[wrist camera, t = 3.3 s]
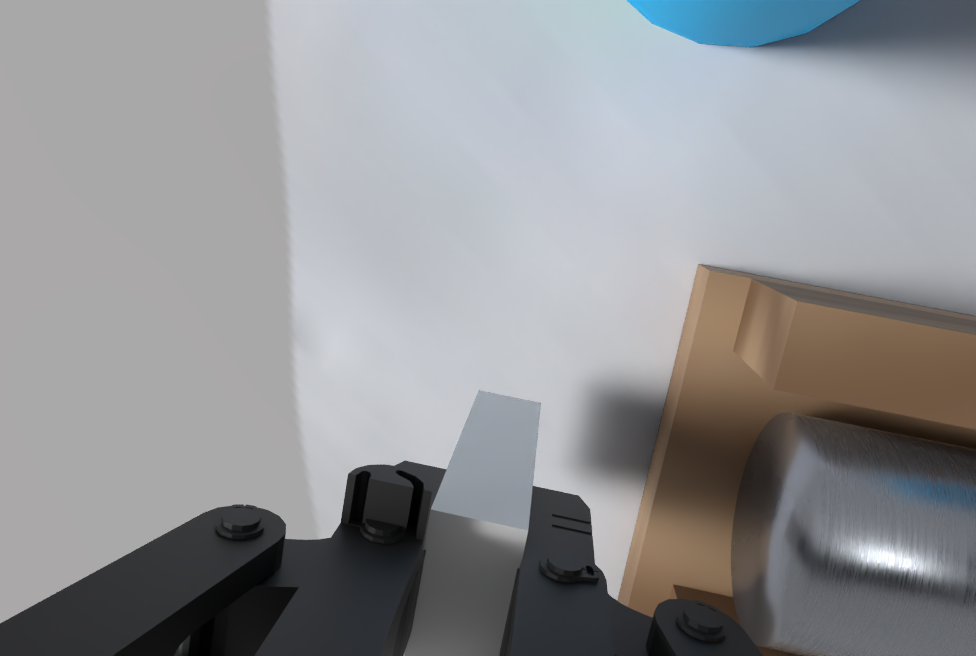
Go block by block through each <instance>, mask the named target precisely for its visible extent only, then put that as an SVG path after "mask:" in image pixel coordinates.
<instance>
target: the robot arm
mask: <svg viewBox="0 0 976 656" xmlns="http://www.w3.org/2000/svg"><path fill="white" fill-rule="evenodd" d="M540 406H541V403H538V402H533V401H528V400H523V399H518V398H514V397H509V396H504V395H499V394H494V393H489V392H484V391H480V390H479V391H478V394H477V396H476V399H475V401H474V404H473V406H472V409H471V411H470V414H469V416H468V419H467V421H466V423H465V426H464V428H463V431H462V433H461V436H460V438H459V441H458V443H457V446H456V448H455V451H454V453H453V456H452V458H451V460H450V463H449V465H448V468H447V470H446V469H441V468H437V467H432V466H427V465H423V464H418V463H413V462H408V461H404V462H401V463H399V464H397V465H395V466H391V465H367V466H363V467H359V468H356V469H354V470H353V471H352V472H350V473H349V474H348V479H347V486H346V492H345V499H344V505H343V512H342V518H341V523H340V525H339V526H338V528H337V529H336V531H335V532H334V534H333V536H332V537H331V538H326V539H320V540H293V539H285V533H286V524H285V523H284V521H283V520H282V519H281V518H280V517H279V516H278V515H276V514H274V513H272V512H270V511H268V510H265V509H261V508H257V507H255V506H251V505H246V506H243V505H232V506H228V507H220V508H216V509H213V510H210V511H208V512H205V513H203V514H201V515H199V516H197V517H195V518H193V519H192V520H190V521H188V522H186V523H185V524H183V525H181V526H179V527H177V528H175V529H173V530H171V531H170V532H168V533H166V534H164V535H162V536H161V537H159V538H157V539H155V540H153V541H151V542H149V543H147V544H146V545H144V546H142V547H140V548H138V549H136V550H135V551H133V552H131V553H129V554H127V555H126V556H124V557H122V558H120V559H118V560H116V561H114V562H113V563H111V564H109V565H107V566H105V567H103V568H101V569H100V570H98V571H96V572H94V573H93V574H90V575H89V576H87V577H85V578H83V579H81V580H79V581H78V582H76V583H74V584H72V585H70V586H69V587H67V588H65V589H63V590H61V591H59V592H57V593H56V594H54V595H52V596H50V597H48V598H46V599H45V600H43V601H41V602H39V603H37V604H35V605H34V606H32V607H30V608H28V609H26V610H24V611H22V612H21V613H19V614H17V615H15V616H13V617H11V618H10V619H8V620H6V621H4V622H2V623H1V624H0V656H403V655H404V652H405V655H404V656H763V655H762V653H761V652H760V651H759V649H758V648H757V647H756V645H755V644H754V643H753V641H752V640H751V639H750V637H749V636H748V635H747V633H746V632H745V631H744V629H743V628H742V627H741V626H740V625H739V624H738V623H737V622H736V621H735V620H733V619H732V618H731V617H729V616H728V615H726V614H724V613H723V612H721V611H720V610H719V609H718V608H716V607H714V606H712V605H709V604H708V605H706V603H704V602H701V601H697V600H695V601H692V600H687V599H668V600H665V601H663V602H661V603H659V604H658V605H657V607H656V609H655V611H654V615H653V618H652V617H650V616H647V615H645V614H642V613H640V612H638V611H635V610H633V609H631V608H629V607H627V606H625V605H623V604H621V603H620V602H618V601H617V600H615V599H614V598H612V597H611V596H610V595H609V594H608V592H607V583H606V579H605V576H604V574H603V572H602V570H600V569H599V568H598V567H597V566H596V565H595V561H594V549H593V538H592V526H591V514H590V509H589V507H588V506H587V505H586V504H585V503H584V501H583V500H582V499H581V498H580V497H579V496H577V495H573V494H568V493H563V492H559V491H554V490H549V489H545V488H540V487H535V486H533V478H534V467H535V457H536V447H537V437H538V427H539V416H540Z"/></svg>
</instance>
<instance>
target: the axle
mask: <svg viewBox="0 0 976 656" xmlns="http://www.w3.org/2000/svg"><path fill="white" fill-rule="evenodd" d="M731 582H732V591H733V598H734V604H735V609H736V613H737V617H738V619H739V622H740V625H741V627H742V628H743V629H744V631H745V632H746V633H747V635H748V636H749V637H750V639H751V640H752V641H753V643H754V644H756V645H758V646H761V647H766V648H771V649H775V650H780V651H784V652H789V653H793V654H798V655H802V656H976V449H971V448H966V447H961V446H956V445H951V444H946V443H941V442H936V441H931V440H926V439H921V438H916V437H911V436H906V435H901V434H896V433H891V432H886V431H881V430H876V429H871V428H866V427H861V426H856V425H851V424H846V423H841V422H836V421H831V420H826V419H821V418H816V417H811V416H806V415H801V414H796V413H791V412H783V413H780V414H778V415H776V416H775V417H773V418H772V419H771V420H770V421H769V422H768V423H767V424H766V426H765V427H764V428H763V430H762V431H761V433H760V434H759V436H758V438H757V440H756V442H755V444H754V446H753V448H752V450H751V453H750V455H749V458H748V460H747V463H746V466H745V469H744V473H743V476H742V480H741V484H740V487H739V491H738V496H737V501H736V507H735V513H734V520H733V528H732V540H731Z"/></svg>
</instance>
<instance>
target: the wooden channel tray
mask: <svg viewBox="0 0 976 656" xmlns="http://www.w3.org/2000/svg"><path fill="white" fill-rule="evenodd" d="M783 412H791V413H796V414H801V415H806V416H811V417H816V418H821V419H826V420H831V421H836V422H841V423H846V424H851V425H856V426H861V427H866V428H871V429H876V430H881V431H886V432H891V433H896V434H901V435H906V436H911V437H916V438H921V439H926V440H931V441H936V442H941V443H946V444H951V445H956V446H961V447H966V448H971V449H976V316H971V315H966V314H961V313H955V312H950V311H945V310H939V309H934V308H929V307H923V306H918V305H913V304H908V303H902V302H897V301H892V300H886V299H881V298H876V297H870V296H865V295H860V294H854V293H849V292H844V291H839V290H833V289H828V288H823V287H817V286H812V285H807V284H801V283H796V282H791V281H785V280H780V279H775V278H770V277H764V276H759V275H754V274H748V273H743V272H738V271H732V270H727V269H722V268H716V267H711V266H706V265H700V264H698V268H697V272H696V276H695V281H694V285H693V289H692V293H691V297H690V301H689V306H688V310H687V314H686V318H685V322H684V326H683V330H682V335H681V339H680V343H679V347H678V351H677V355H676V360H675V364H674V368H673V372H672V376H671V380H670V385H669V389H668V393H667V397H666V401H665V405H664V409H663V414H662V418H661V422H660V426H659V430H658V434H657V439H656V443H655V447H654V451H653V455H652V459H651V464H650V468H649V472H648V476H647V480H646V484H645V488H644V493H643V497H642V501H641V505H640V509H639V513H638V518H637V522H636V526H635V530H634V534H633V538H632V543H631V547H630V551H629V555H628V559H627V563H626V567H625V572H624V576H623V580H622V584H621V588H620V592H619V597H618V602H620V603H621V604H623V605H625V606H627V607H629V608H631V609H633V610H635V611H638V612H640V613H642V614H645V615H647V616H650V617H652V618H653V615H654V611H655V609H656V607H657V605H658V604H659V603H661V602H663V601H665V600H668V599H687V600H692V601H695V600H697V601H701V602H704V603H706V605H708V604H709V605H712V606H714V607H716V608H718V609H719V610H720V611H721V612H723V613H724V614H726V615H728V616H729V617H731V618H732V619H733V620H735V621H736V622H737V623H738V624H739V625H740V622H739V619H738V617H737V613H736V609H735V604H734V598H733V591H732V582H731V540H732V528H733V520H734V513H735V507H736V501H737V496H738V491H739V487H740V484H741V480H742V476H743V473H744V469H745V466H746V463H747V460H748V458H749V455H750V453H751V450H752V448H753V446H754V444H755V442H756V440H757V438H758V436H759V434H760V433H761V431H762V430H763V428H764V427H765V426H766V424H767V423H768V422H769V421H770V420H771V419H772V418H773V417H775V416H776V415H778V414H780V413H783ZM740 626H741V625H740ZM755 645H756V644H755ZM756 647H757V648H758V649H759V651H760V652H761V653H762V655H763V656H802V655H798V654H793V653H789V652H784V651H780V650H775V649H771V648H766V647H761V646H758V645H756Z"/></svg>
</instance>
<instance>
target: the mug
mask: <svg viewBox="0 0 976 656" xmlns="http://www.w3.org/2000/svg"><path fill="white" fill-rule="evenodd" d="M627 1H628V2H629V3H630V4H631V5H632V6H633V7H634V8H636V9H637V10H638V11H639V12H640V13H641V14H642V15H643V16H644V17H645V18H646V19H648V20H649V21H650V22H651V23H652V24H654V25H657V26H659V27H662V28H664V29H666V30H669V31H671V32H673V33H676V34H678V35H680V36H683V37H685V38H687V39H690V40H692V41H695V42H697V43H699V44H712V45H727V46H742V47H755V46H759V45H763V44H767V43H771V42H775V41H779V40H783V39H787V38H791V37H794V36H798V35H802V34H806V33H808V32H809V31H811V30H813V29H814V28H816V27H818V26H819V25H821V24H823V23H824V22H826V21H827V20H829V19H831V18H832V17H834V16H836V15H837V14H839V13H841V12H842V11H844V10H846V9H847V8H849V7H850V6H852V5H854V4H855V3H857V2H859V1H860V0H627Z"/></svg>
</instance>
